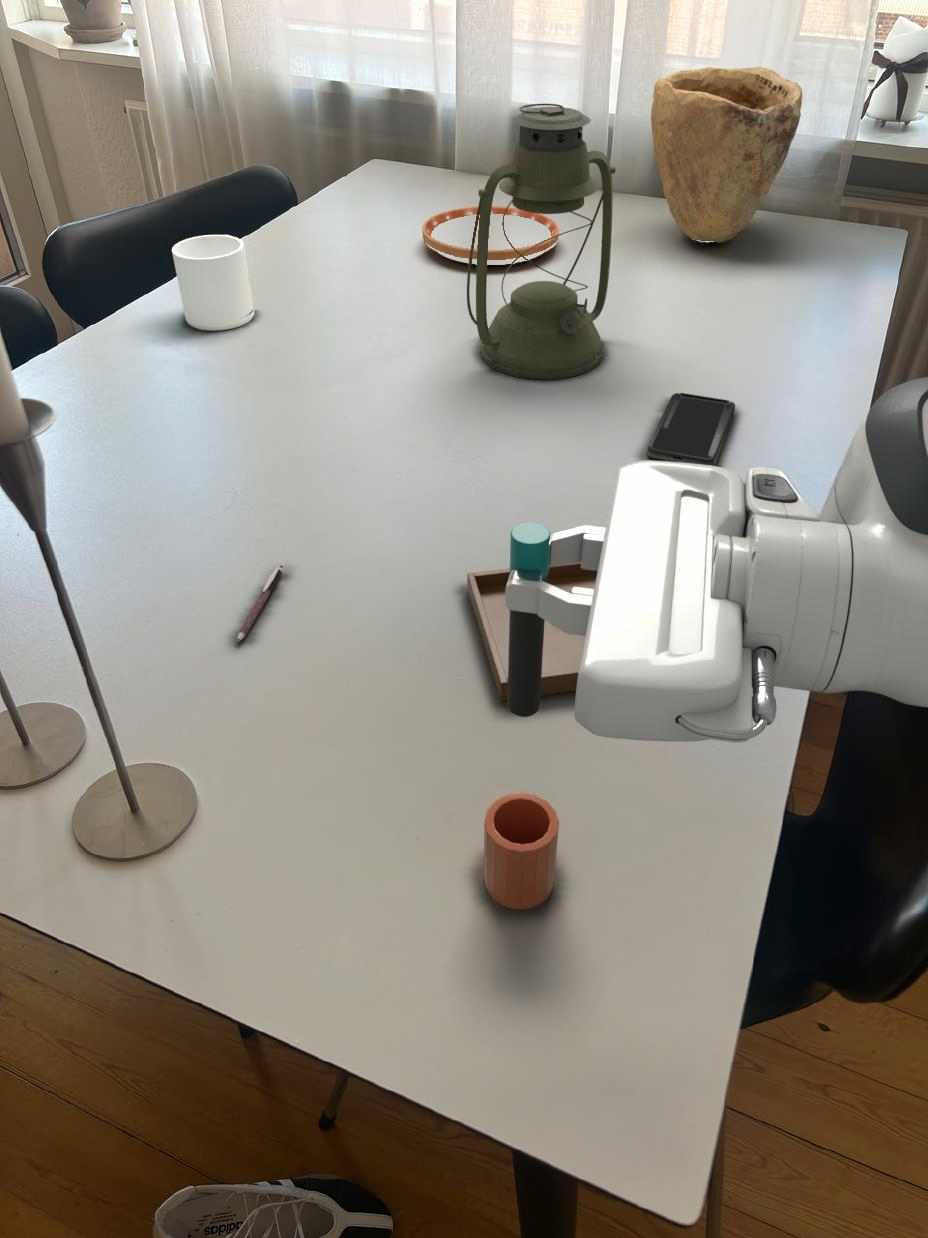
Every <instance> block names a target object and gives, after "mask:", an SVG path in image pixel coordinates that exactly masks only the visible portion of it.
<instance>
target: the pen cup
mask: <svg viewBox="0 0 928 1238" xmlns="http://www.w3.org/2000/svg"><path fill="white" fill-rule="evenodd" d="M483 822H484V823H483V825H484V829H483V837H484V839H483V840H484V841H483V845H484V846H483V864H484V865H483V868H484V869H483V877H484V884H485V889H486V891H487V892H488V894H489V895H490V897H491V898H492V899H493V900H494V901H495V902H496V903H498V904H499V905H500V906H503V907H505V908H507V909H512V910H528V909H532V908H536V907H538V906H539V905H541V904H543V903H544V902H545V901H546V900H547V899H548V898H549V897H550V896H551V893H552V891H553V889H554V884H555V883H554V882H555V876H556V875H555V874H556V865H557V852H558V842H559V841H558V838H559V829H560V828H559V827H560V820H559V817H558V813H557V811H556V809H555V808H554V807H553V806H552V805H551V804H550V802H549V801H547V799H544V798H543V797H541V796H539V795H537V794H534V793H528V792H522V791H521V792H520V791H518V792H513V793H512V792H511V793H506V794H505V795H502V796H501V797H499V798H497V799H495V800H494V801H493V802H492V803H491V804H490V806H489V807H488V808H487V809H486V813H485V816H484V821H483Z"/></svg>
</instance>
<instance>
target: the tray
mask: <svg viewBox="0 0 928 1238" xmlns="http://www.w3.org/2000/svg"><path fill="white" fill-rule="evenodd" d="M597 572H598V571H593V570H585V569H582V568H581V563H574V564H567V565H560V566H553V567H550V566H549V570H548V574H547V583H548V584H550V585H553V586H555V587H557V588H559V589H561V590H564V591H566V592H568V593H571V592H572V588H573V587H581V588H589V589H594V588H595V583H596V577H597ZM509 576H510V567H509V568H501V569H492V570H485V571H477V572H468V573H467V575H466V577H467V579H466V580H467V581H466V582H467V589H466V591H467V594H468V597H469V600H470V604H471V607H472V610H473V613H474V617H475V620H476V624H477V627H478V631H479V634H480V636H481V640H482V643H483V647H484V650H485V654H486V657H487V661H488V663H489V667H490V670H491V673H492V677H493V680H494V683H495V687H496V690H497V694H498V696H499V700H500V701H501V702H503V701H507V700H508V661H509V621H510V609H508V608H507V607H506V605H505V588H506V585H507V582H508V579H509ZM584 641H585V636H581V635H574V634H566V633H565V632H563V631H561V630H560V629H558V628H557V627H555V626H554V625H552V624H550V623H549V622H547V621H546V620H545V621H544V639H543V657H542V675H541V693H540V697H541V696H548V695H555V694H561V693H569V692H576V688H577V680H578V673H579V667H580V662H581V657H582V651H583V646H584Z"/></svg>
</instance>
